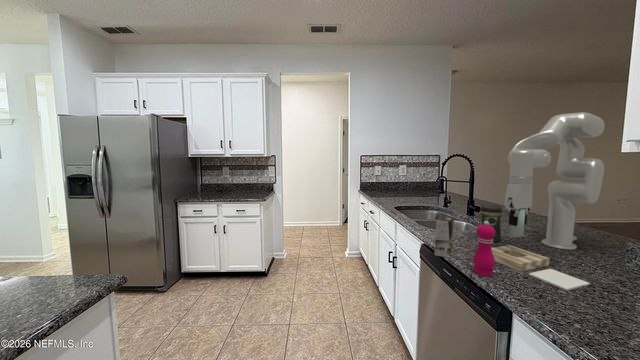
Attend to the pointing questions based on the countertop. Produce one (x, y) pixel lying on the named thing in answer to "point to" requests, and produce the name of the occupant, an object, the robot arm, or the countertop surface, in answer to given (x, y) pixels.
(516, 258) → the wooden square frame
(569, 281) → the mat
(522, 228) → the peg
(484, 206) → the coffee jar
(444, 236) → the coffee box
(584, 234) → the countertop surface
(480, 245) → the pepper mill
